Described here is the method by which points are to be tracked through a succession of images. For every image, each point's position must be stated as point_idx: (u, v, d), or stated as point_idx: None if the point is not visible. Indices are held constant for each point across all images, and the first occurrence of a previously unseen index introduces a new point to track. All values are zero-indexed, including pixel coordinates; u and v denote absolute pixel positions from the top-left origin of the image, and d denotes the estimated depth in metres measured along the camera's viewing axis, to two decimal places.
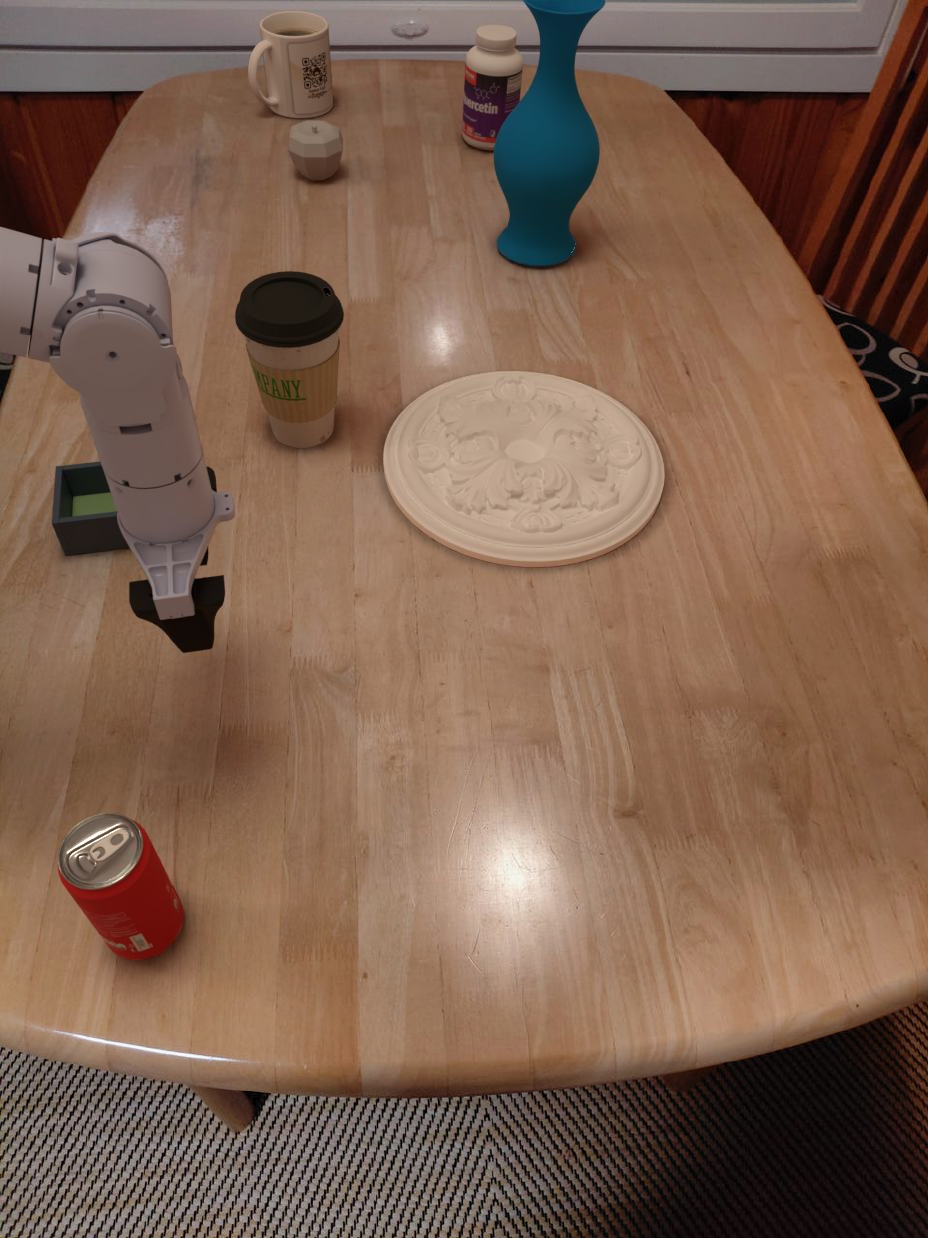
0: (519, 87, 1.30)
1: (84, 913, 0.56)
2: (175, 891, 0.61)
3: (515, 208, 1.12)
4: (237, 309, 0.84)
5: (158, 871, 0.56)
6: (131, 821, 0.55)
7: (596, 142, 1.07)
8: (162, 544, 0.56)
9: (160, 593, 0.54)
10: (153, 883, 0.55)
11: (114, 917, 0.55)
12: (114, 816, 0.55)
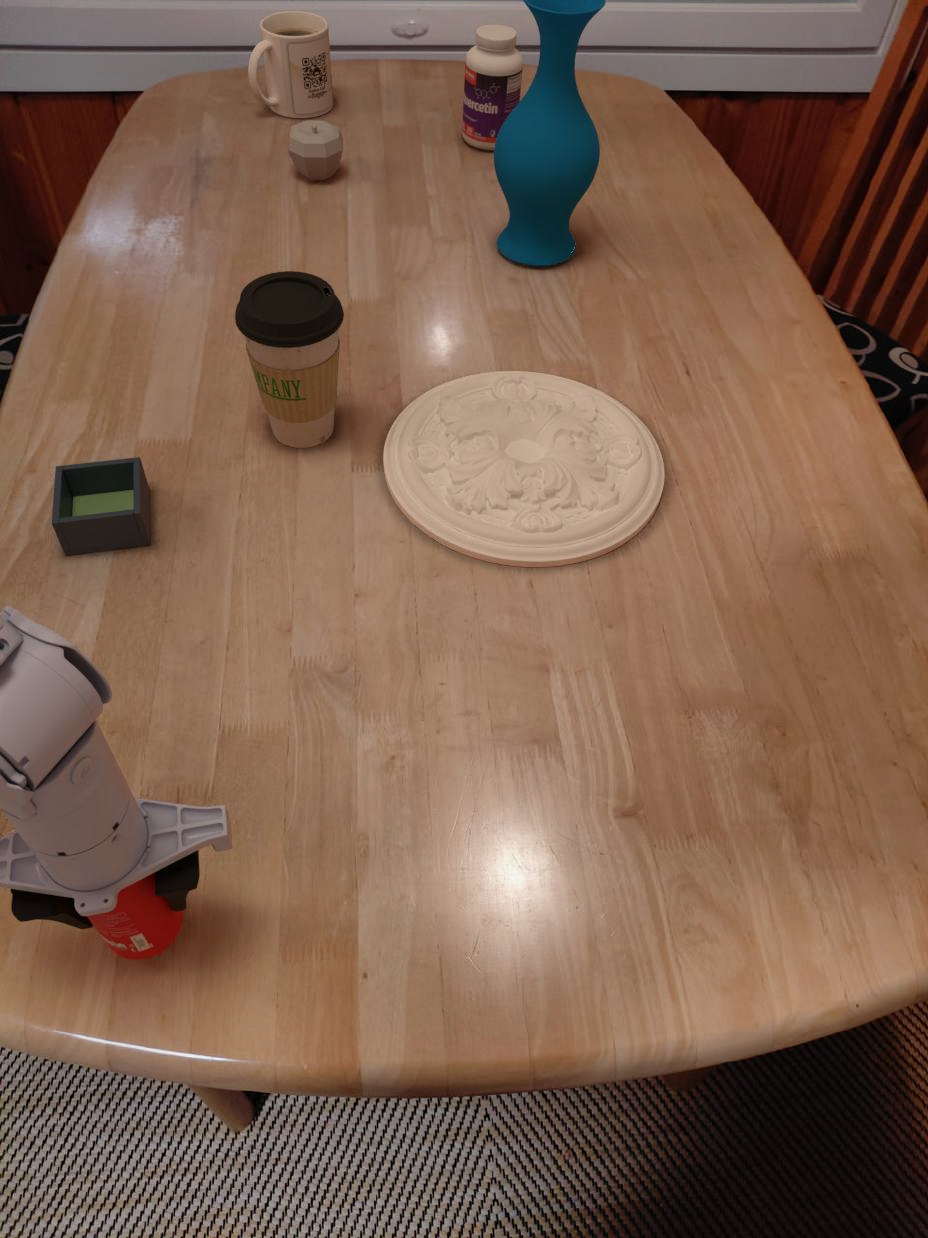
0: (519, 87, 1.30)
1: None
2: None
3: (515, 208, 1.12)
4: (237, 309, 0.84)
5: None
6: None
7: (596, 142, 1.07)
8: None
9: None
10: (154, 883, 0.55)
11: (114, 917, 0.55)
12: None
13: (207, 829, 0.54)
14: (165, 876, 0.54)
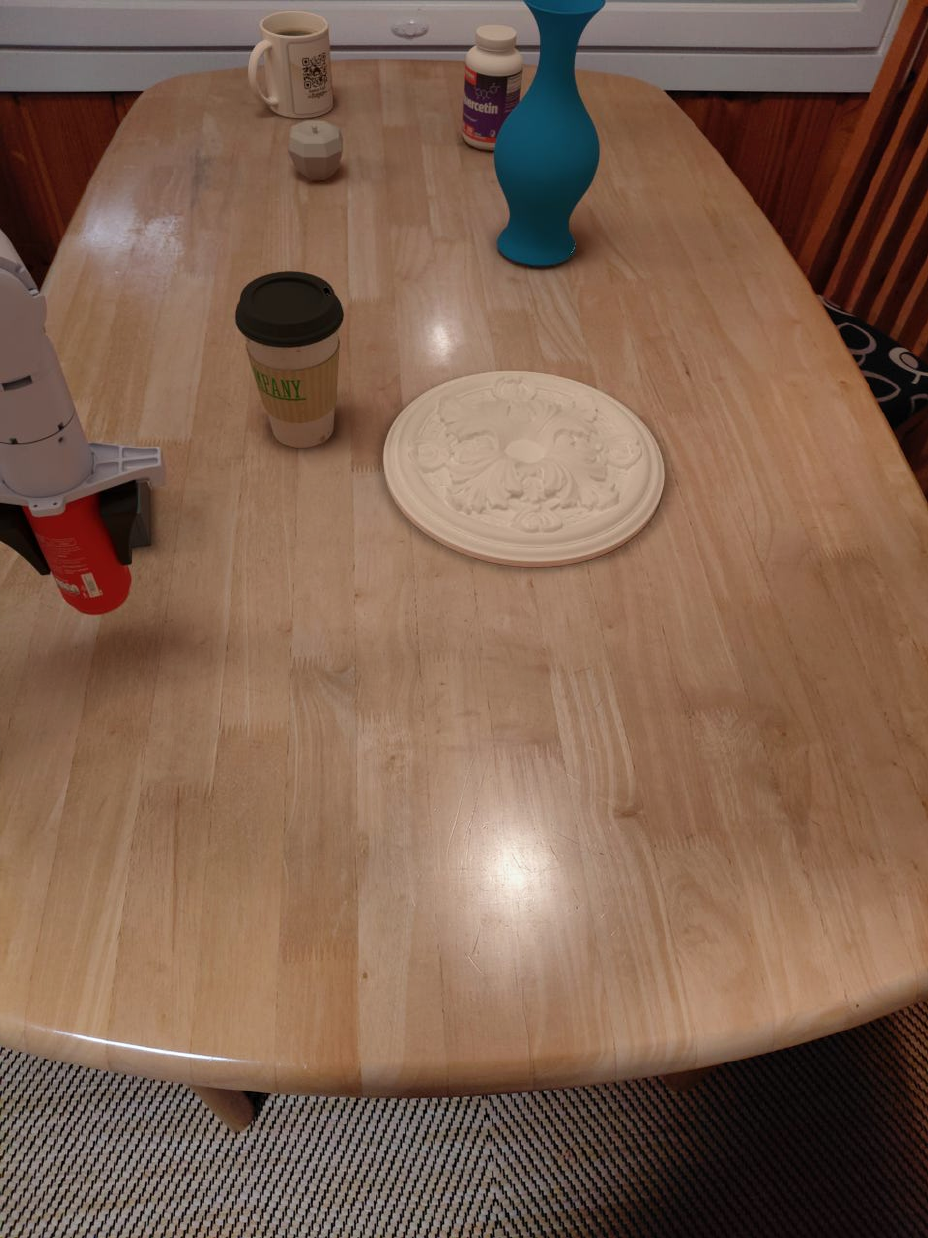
0: (519, 87, 1.30)
1: (41, 545, 0.65)
2: None
3: (515, 208, 1.12)
4: (237, 309, 0.84)
5: None
6: None
7: (596, 142, 1.07)
8: None
9: None
10: (100, 518, 0.65)
11: (65, 542, 0.64)
12: None
13: (144, 463, 0.63)
14: (108, 502, 0.63)
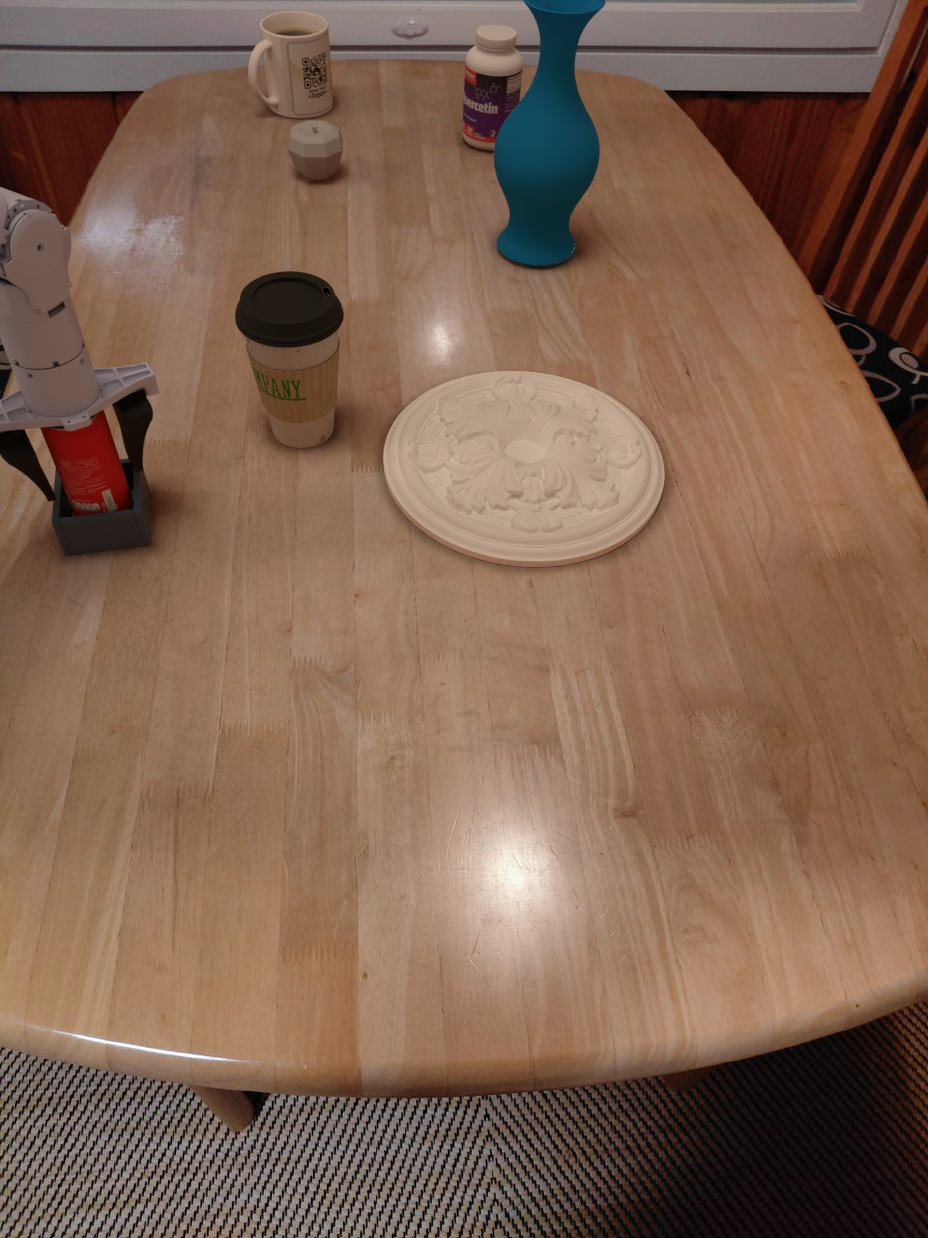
0: (519, 87, 1.30)
1: (66, 471, 0.78)
2: None
3: (515, 208, 1.12)
4: (237, 309, 0.84)
5: (111, 434, 0.79)
6: None
7: (596, 142, 1.07)
8: (24, 402, 0.74)
9: None
10: (111, 438, 0.79)
11: (89, 462, 0.77)
12: None
13: (139, 376, 0.77)
14: (129, 411, 0.77)
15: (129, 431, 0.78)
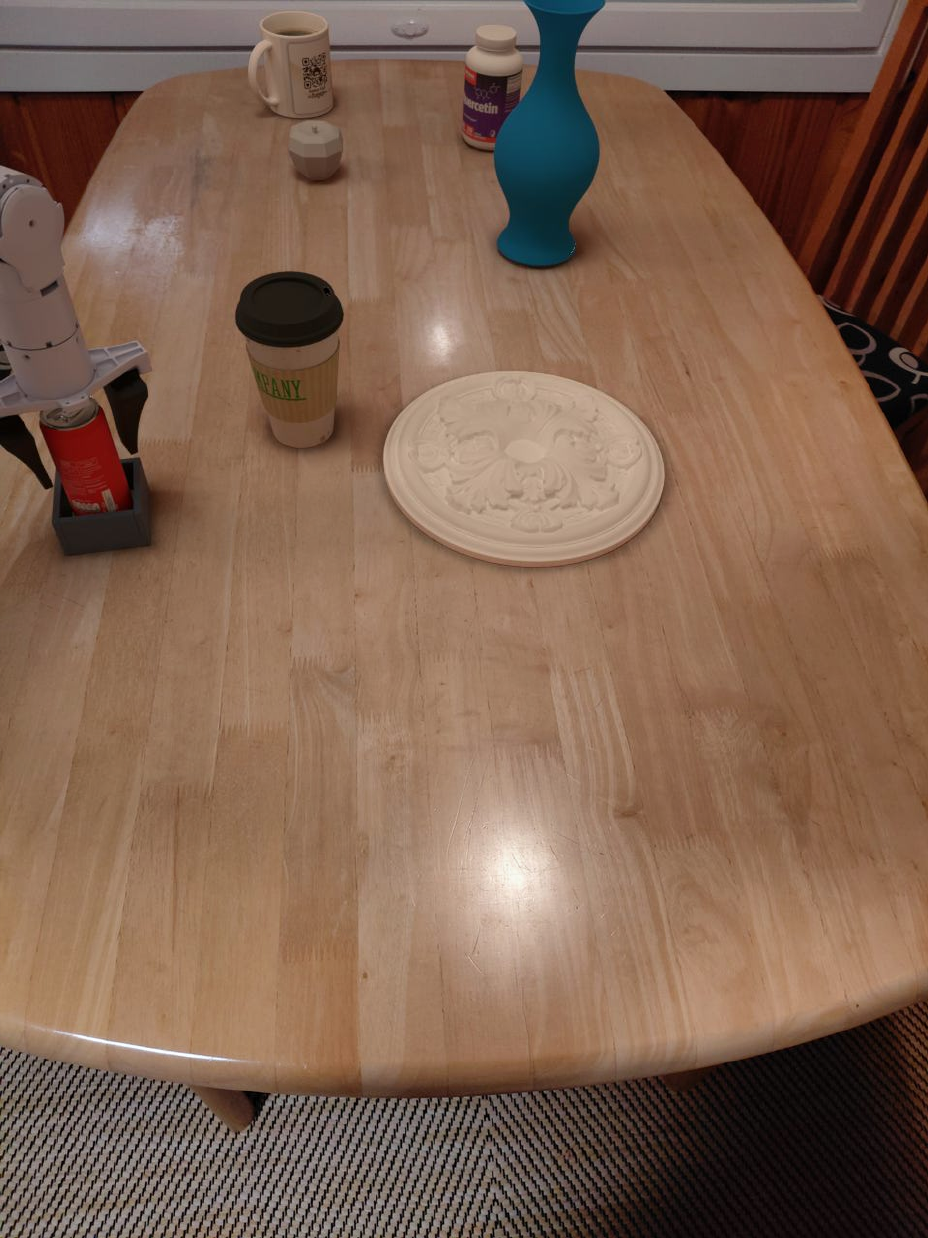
0: (519, 87, 1.30)
1: (66, 472, 0.78)
2: None
3: (515, 208, 1.12)
4: (237, 309, 0.84)
5: (111, 434, 0.79)
6: None
7: (596, 142, 1.07)
8: (18, 387, 0.72)
9: None
10: (111, 438, 0.78)
11: (89, 463, 0.77)
12: None
13: (131, 354, 0.76)
14: (124, 390, 0.76)
15: (125, 411, 0.77)
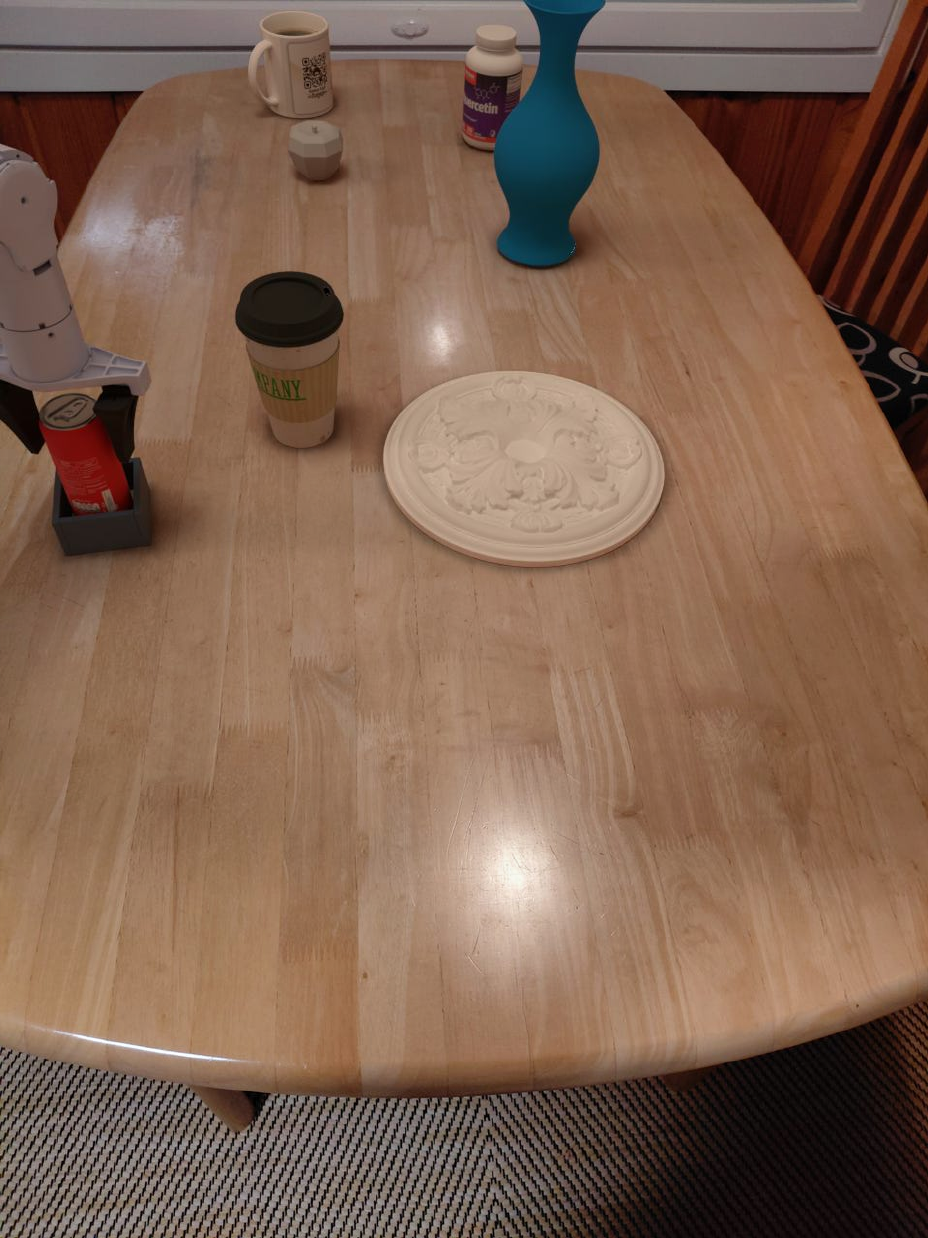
0: (519, 87, 1.30)
1: (66, 472, 0.78)
2: None
3: (515, 208, 1.12)
4: (237, 309, 0.84)
5: None
6: (84, 394, 0.77)
7: (596, 142, 1.07)
8: (86, 366, 0.72)
9: None
10: None
11: (89, 463, 0.77)
12: (70, 395, 0.77)
13: None
14: None
15: None
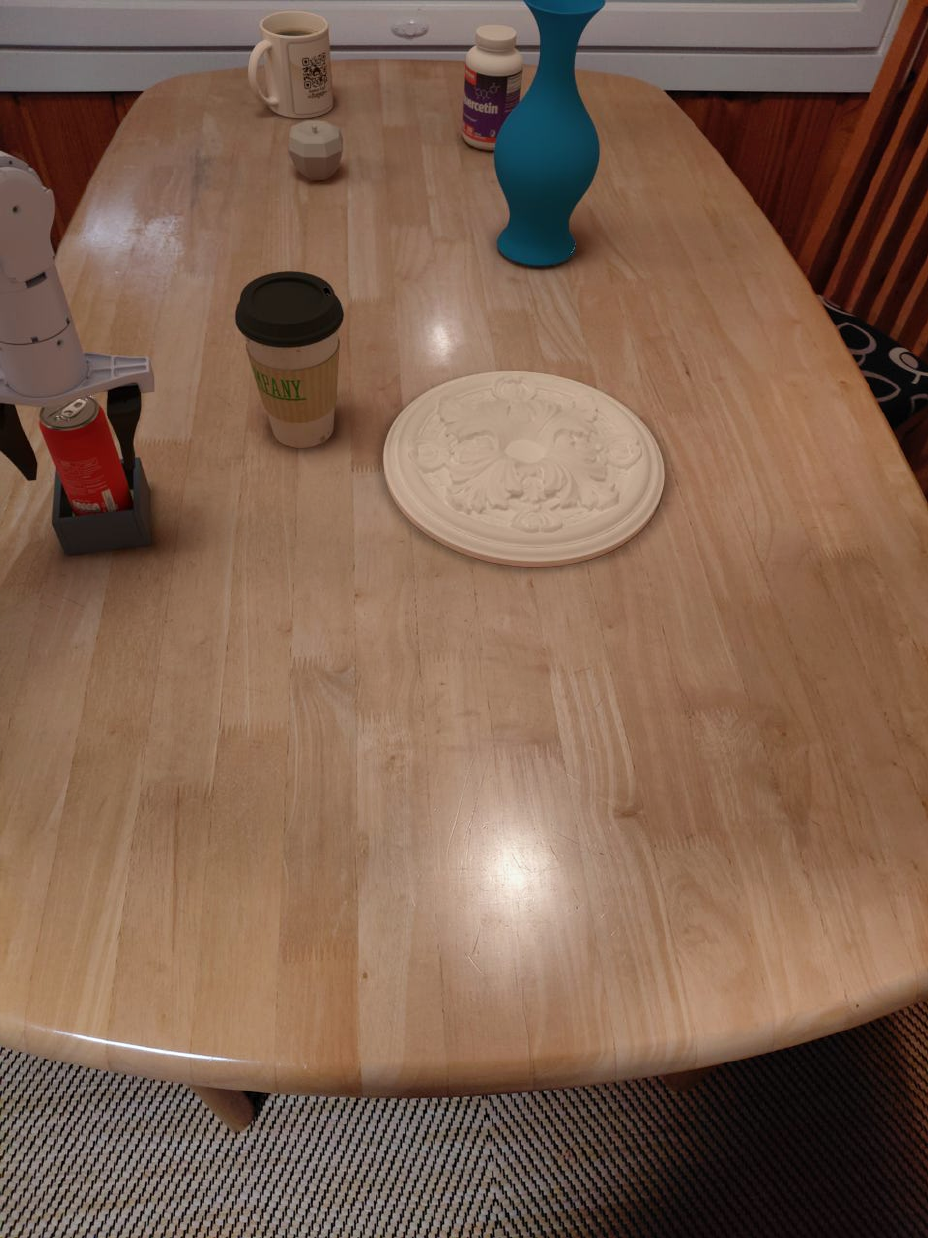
0: (519, 87, 1.30)
1: (66, 472, 0.78)
2: None
3: (515, 208, 1.12)
4: (237, 309, 0.84)
5: (111, 434, 0.79)
6: None
7: (596, 142, 1.07)
8: (89, 372, 0.69)
9: None
10: (111, 438, 0.78)
11: (89, 463, 0.77)
12: None
13: None
14: None
15: None
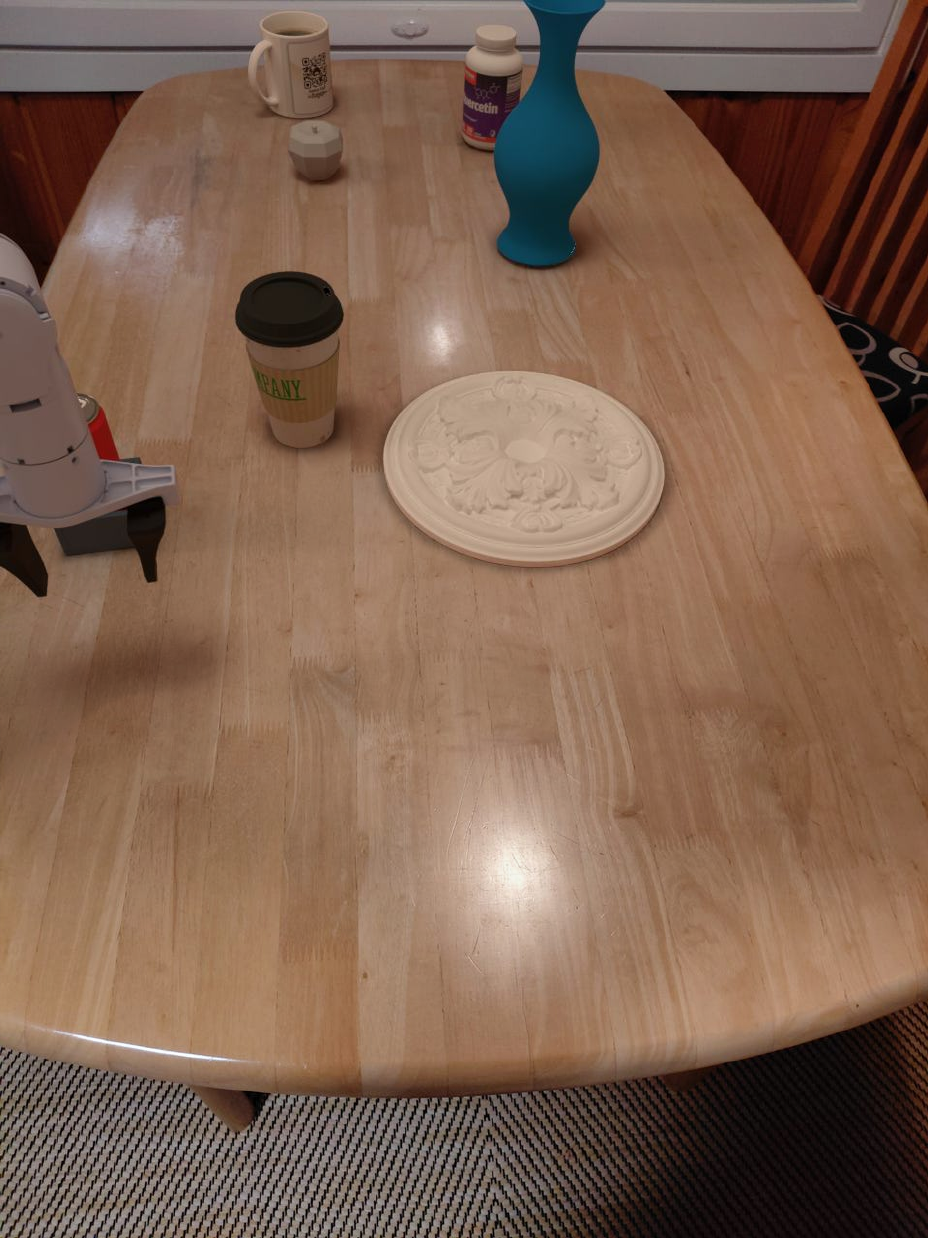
0: (519, 87, 1.30)
1: None
2: None
3: (515, 208, 1.12)
4: (237, 309, 0.84)
5: (111, 434, 0.79)
6: (84, 394, 0.77)
7: (596, 142, 1.07)
8: (107, 485, 0.61)
9: None
10: (111, 438, 0.78)
11: None
12: None
13: None
14: None
15: None
